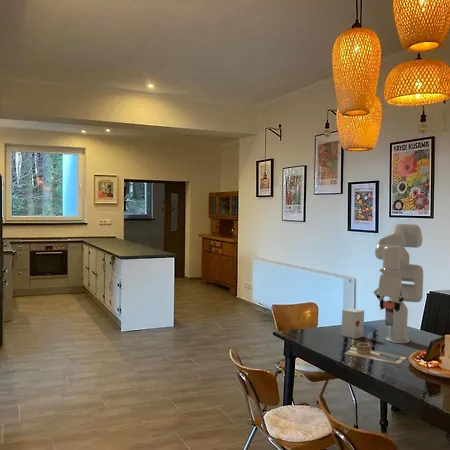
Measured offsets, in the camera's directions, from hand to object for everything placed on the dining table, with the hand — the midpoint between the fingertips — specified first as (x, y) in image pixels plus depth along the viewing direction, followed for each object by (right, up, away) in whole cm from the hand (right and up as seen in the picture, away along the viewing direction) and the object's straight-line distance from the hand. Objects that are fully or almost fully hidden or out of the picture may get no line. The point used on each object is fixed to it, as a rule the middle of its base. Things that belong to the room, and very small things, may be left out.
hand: (389, 309), depth 234 cm
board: (-5, -24, +4) cm, 25 cm away
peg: (0, -7, 0) cm, 7 cm away
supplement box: (-6, -23, +45) cm, 51 cm away
